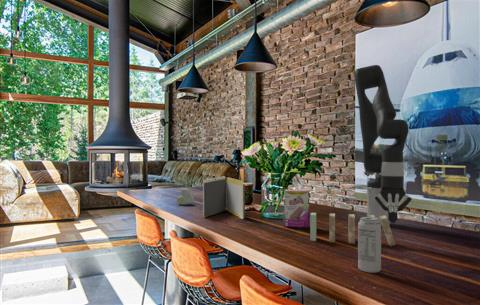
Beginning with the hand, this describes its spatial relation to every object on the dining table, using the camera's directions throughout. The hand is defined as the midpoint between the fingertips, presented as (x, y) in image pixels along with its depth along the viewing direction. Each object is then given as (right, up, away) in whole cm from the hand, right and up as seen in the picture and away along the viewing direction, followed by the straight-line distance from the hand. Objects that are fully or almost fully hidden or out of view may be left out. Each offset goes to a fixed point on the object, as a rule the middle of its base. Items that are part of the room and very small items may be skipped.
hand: (392, 222), depth 132 cm
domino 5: (0, -8, 0) cm, 8 cm away
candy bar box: (-30, -8, +32) cm, 44 cm away
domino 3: (-14, -8, +3) cm, 16 cm away
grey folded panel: (-66, -8, +63) cm, 92 cm away
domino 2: (-21, -8, +5) cm, 23 cm away
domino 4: (-7, -8, +2) cm, 11 cm away
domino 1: (-27, -8, +7) cm, 29 cm away
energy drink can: (-19, -8, -30) cm, 37 cm away
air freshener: (-90, -8, +102) cm, 136 cm away
